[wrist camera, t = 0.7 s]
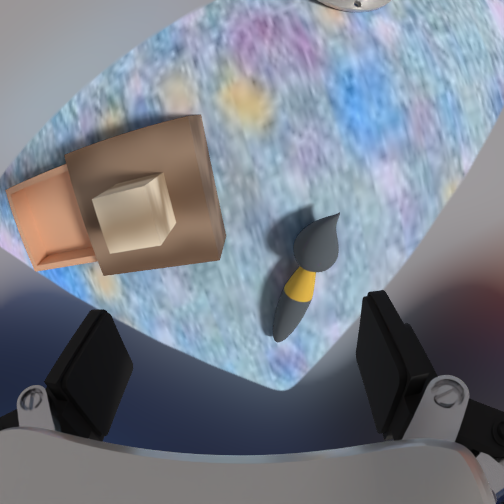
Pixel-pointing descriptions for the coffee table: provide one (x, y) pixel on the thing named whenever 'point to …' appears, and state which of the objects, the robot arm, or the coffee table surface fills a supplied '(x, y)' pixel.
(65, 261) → the tray
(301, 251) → the paintbrush
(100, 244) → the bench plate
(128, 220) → the beech block
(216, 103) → the coffee table surface
